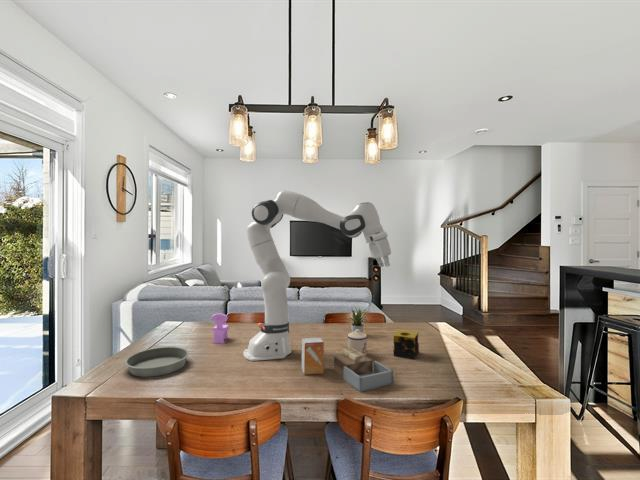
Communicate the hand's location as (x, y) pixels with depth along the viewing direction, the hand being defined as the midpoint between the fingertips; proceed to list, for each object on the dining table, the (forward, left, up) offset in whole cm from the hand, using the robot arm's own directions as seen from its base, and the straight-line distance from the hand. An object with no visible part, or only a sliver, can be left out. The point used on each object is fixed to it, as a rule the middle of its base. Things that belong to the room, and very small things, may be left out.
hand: (384, 266), depth 152 cm
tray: (-19, -16, -42) cm, 49 cm away
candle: (+14, +2, -42) cm, 45 cm away
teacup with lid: (-6, +13, -42) cm, 45 cm away
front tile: (-19, -7, -37) cm, 42 cm away
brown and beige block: (-19, -5, -42) cm, 46 cm away
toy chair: (-61, +60, -42) cm, 95 cm away
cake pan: (-91, +36, -43) cm, 107 cm away
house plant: (+10, +36, -42) cm, 56 cm away
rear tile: (-19, -2, -37) cm, 41 cm away
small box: (-34, +3, -42) cm, 54 cm away
